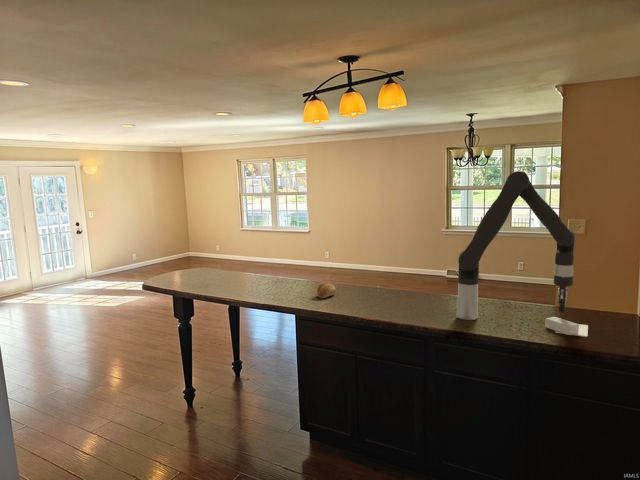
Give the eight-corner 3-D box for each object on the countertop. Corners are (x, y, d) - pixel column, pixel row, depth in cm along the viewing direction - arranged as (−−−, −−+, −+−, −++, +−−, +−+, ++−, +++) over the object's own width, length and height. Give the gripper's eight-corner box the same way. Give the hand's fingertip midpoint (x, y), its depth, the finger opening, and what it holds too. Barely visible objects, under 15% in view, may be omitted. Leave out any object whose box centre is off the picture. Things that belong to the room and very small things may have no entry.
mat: (555, 332, 187) (555, 331, 187) (557, 322, 200) (557, 321, 200) (587, 337, 181) (587, 336, 180) (587, 326, 194) (588, 325, 194)
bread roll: (313, 298, 253) (312, 285, 252) (325, 292, 266) (325, 280, 265) (327, 300, 248) (327, 287, 247) (339, 294, 261) (339, 281, 260)
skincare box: (544, 327, 193) (568, 335, 182) (545, 317, 192) (568, 325, 181) (554, 325, 195) (578, 333, 184) (555, 316, 194) (579, 324, 183)
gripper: (555, 271, 197) (553, 307, 199) (552, 276, 186) (551, 315, 188) (574, 272, 193) (572, 309, 195) (572, 278, 182) (570, 317, 184)
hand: (561, 312), depth 192 cm, fingers closed
